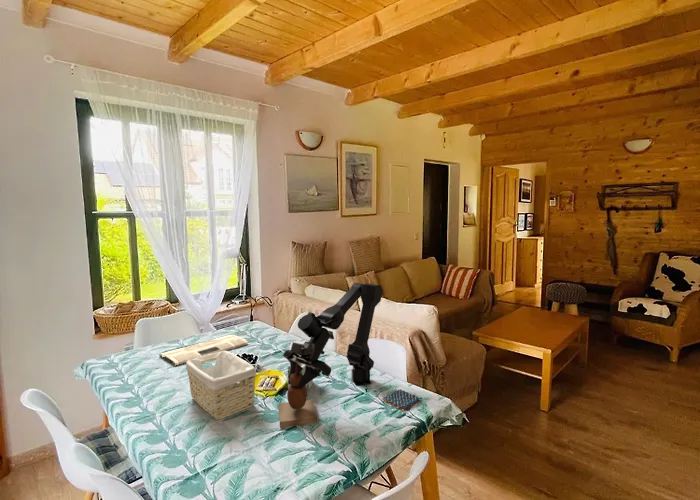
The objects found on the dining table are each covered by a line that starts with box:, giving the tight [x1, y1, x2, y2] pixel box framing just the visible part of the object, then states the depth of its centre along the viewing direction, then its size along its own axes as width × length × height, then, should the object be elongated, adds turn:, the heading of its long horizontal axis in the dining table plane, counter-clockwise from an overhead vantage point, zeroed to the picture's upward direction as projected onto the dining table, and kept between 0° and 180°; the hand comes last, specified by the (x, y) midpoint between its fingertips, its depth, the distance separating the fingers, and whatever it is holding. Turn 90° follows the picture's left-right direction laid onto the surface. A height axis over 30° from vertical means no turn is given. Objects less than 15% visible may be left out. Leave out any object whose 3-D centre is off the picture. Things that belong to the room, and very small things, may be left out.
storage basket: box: [185, 350, 257, 421], centre depth 139 cm, size 24×16×15 cm
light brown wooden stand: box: [277, 398, 319, 429], centre depth 130 cm, size 12×12×2 cm
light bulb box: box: [287, 355, 314, 392], centre depth 150 cm, size 11×7×11 cm, turn 169°
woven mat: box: [382, 389, 422, 412], centre depth 139 cm, size 10×11×2 cm
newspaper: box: [158, 334, 249, 367], centre depth 192 cm, size 37×19×3 cm, turn 137°
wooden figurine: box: [286, 362, 308, 409], centre depth 129 cm, size 7×6×15 cm
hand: (293, 386), depth 128 cm, fingers closed on wooden figurine, 4 cm apart
